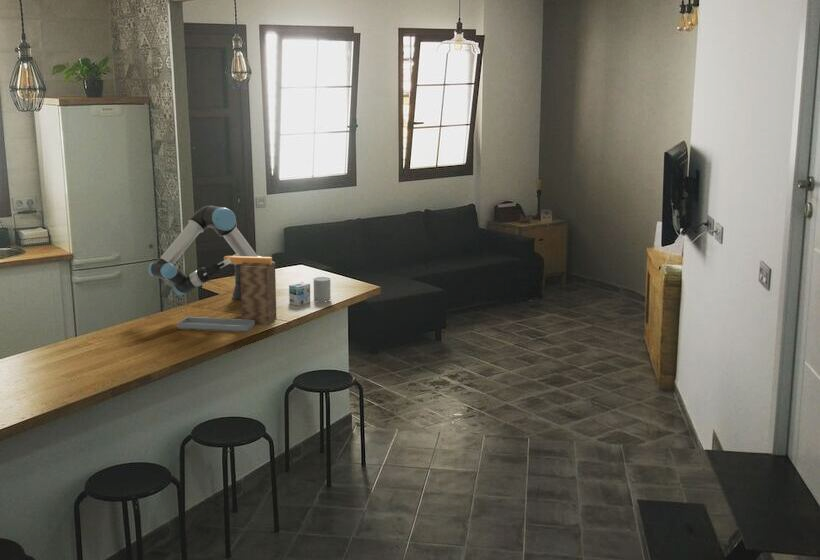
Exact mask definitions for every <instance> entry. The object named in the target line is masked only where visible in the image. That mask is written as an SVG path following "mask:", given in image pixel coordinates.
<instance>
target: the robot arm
mask: <svg viewBox="0 0 820 560" xmlns="http://www.w3.org/2000/svg"><path fill="white" fill-rule="evenodd" d="M236 219H237V217H236V215H235V212H234V211H233V210H231V209H229V208H227V207H223V206H216V205H205V206H202V207H201V208H200V209H198V210H197V211H196V212H194V214H192V216H191V217H190V218H189V219H188V221H187V223H188V224H187V225H186V226H185V227H184V228H183V230H182V231H181V232H180V233H179V235H178V236H177V237H176V238H175V239H174V240H173V242H172V243H171V244H170V245H169V246H168V248H167V249H166V250H165V251H164V253H163V254H162V255H161V256H160V257H159V258H158V260H157V261H155V262H151V263H149V265H148V267H147V273H148V274H149V276H152V277H153V278H158V279H161V280H165V281H168V282H170V283H171V284H172V289H173V292H175V294H176V295H178V296H183V295H185V294H188V293H190V292H191V291H193V290H194V289H195V288H197V287H198V288H199V287H202V285H203V284H205V283H207V282H209V281H211V279H212V277H211V276H212V275H214V274H216V272H220V271H221V269H223V268H224V267H226V266H227V265H231V264H230V263H231V261H230V259H229V258H227V259H226V260H224V259H223V261H220V262H218V263H217V264H214V265H212V266H209V267H208V268H206V267H203V266H202V267H200V268H199V269H197V270H195V271H193V272H191V273H189V274H188V275H185V274H184V273H183V272H182V271H181V270H180V269H179V268H178V267H177V266H176V265H175V263H176V262H177V261H178V260H179V258H181V256H182V255H183V253H184V252H186V250H187V249H188V248H189V247H190V246H191V244H192V243H193V242H194V241H195V239H196V238H197V237H198V236H199V234H201V233H204V231H205V230H206V229H208V228H211V229H213V230H214V231H215V233H216V234H217V235H218V236H219V237H223V238H224V240H225V241H226V242H227V244H228V245H229V246H230V248H231V249H232V250H233V251H234V254H233V255H232V256H254V257H262V256H261V255H258V254H257V253H256V252H255V250H254V249H253V248H252V246H251V245H250V244H249V242H248V240H246V238H245V237H244V236H243V234H242V233H241V231H239V229H238V228H237V224H238V223H237V220H236ZM241 265H242V264H233V267H234V280H235V281H234V287H233V291H232V298H233V299H234V300H236V301H237V300H238V301H241V281H240V266H241Z"/></svg>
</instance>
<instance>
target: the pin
mask: <svg viewBox="0 0 820 560" xmlns="http://www.w3.org/2000/svg"><path fill="white" fill-rule="evenodd" d="M227 258H229V259H230V261H231V263H230V264H229V265H234V264H242V263H243V262H244V263H270V265H271V264H272V261H273V257H272V256H261V257H254V256H233V255H225V256H224V257H223V261H224V260H226V259H227Z"/></svg>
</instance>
